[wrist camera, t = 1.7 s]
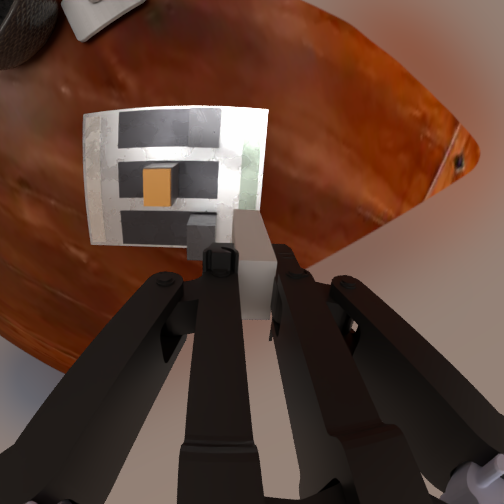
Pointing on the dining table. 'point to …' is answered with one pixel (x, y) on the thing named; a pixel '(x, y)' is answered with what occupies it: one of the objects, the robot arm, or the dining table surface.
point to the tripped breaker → (161, 184)
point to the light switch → (94, 14)
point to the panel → (190, 173)
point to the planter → (24, 29)
